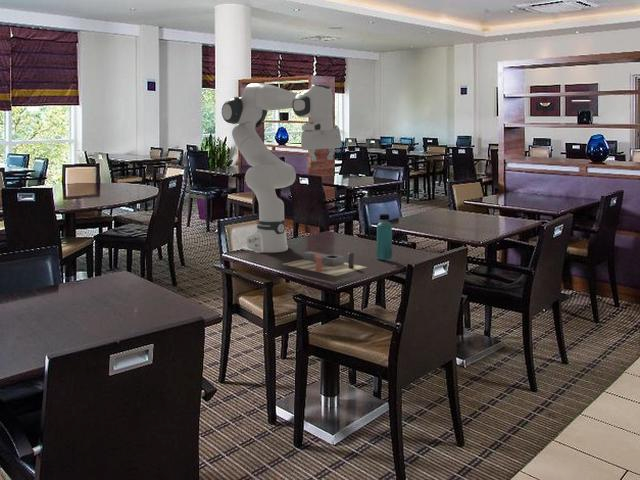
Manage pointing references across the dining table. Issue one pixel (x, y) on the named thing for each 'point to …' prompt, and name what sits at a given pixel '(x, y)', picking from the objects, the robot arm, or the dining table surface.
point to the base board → (324, 267)
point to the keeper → (318, 262)
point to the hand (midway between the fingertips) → (322, 160)
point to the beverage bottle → (384, 238)
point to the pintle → (351, 260)
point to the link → (325, 258)
